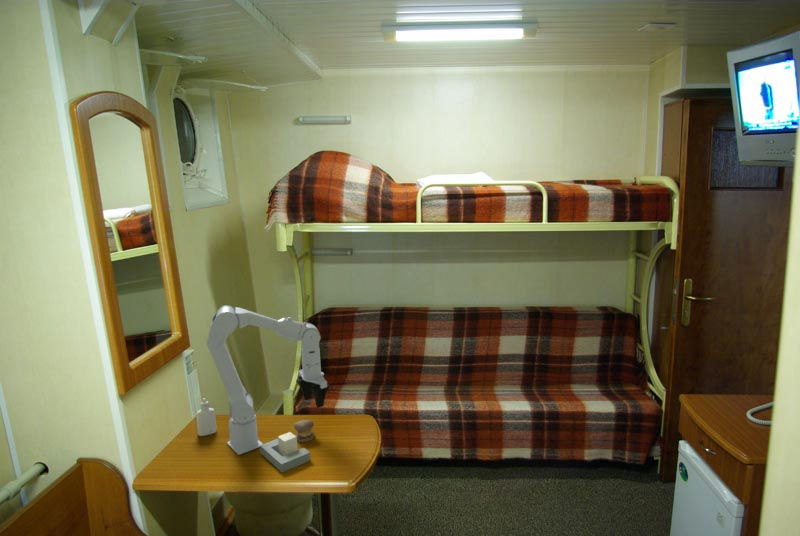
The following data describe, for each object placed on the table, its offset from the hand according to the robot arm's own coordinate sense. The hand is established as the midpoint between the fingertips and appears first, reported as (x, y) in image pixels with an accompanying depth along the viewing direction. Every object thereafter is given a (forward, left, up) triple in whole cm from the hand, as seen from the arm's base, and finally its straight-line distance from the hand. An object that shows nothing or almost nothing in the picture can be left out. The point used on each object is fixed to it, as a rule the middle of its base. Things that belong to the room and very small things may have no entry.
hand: (313, 402), depth 156 cm
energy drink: (-18, -18, -11) cm, 28 cm away
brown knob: (0, -4, -10) cm, 11 cm away
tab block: (+6, -13, -10) cm, 18 cm away
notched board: (+6, -14, -10) cm, 18 cm away
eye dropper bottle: (-25, -26, -11) cm, 38 cm away
